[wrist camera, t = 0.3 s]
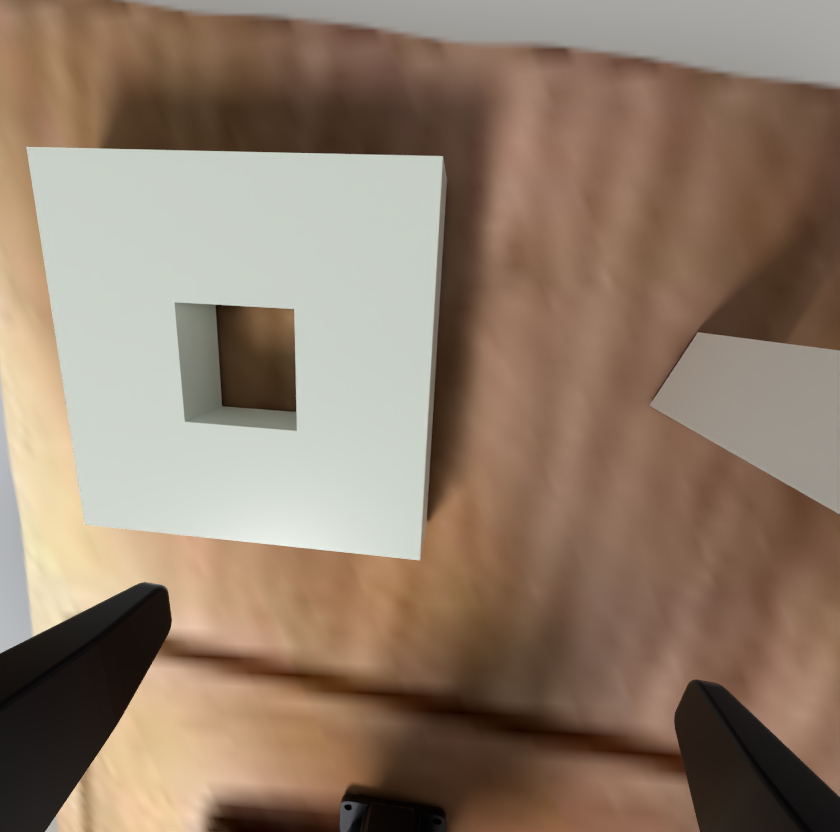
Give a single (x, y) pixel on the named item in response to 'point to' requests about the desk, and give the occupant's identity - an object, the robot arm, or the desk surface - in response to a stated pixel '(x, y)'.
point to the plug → (763, 407)
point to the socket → (198, 340)
